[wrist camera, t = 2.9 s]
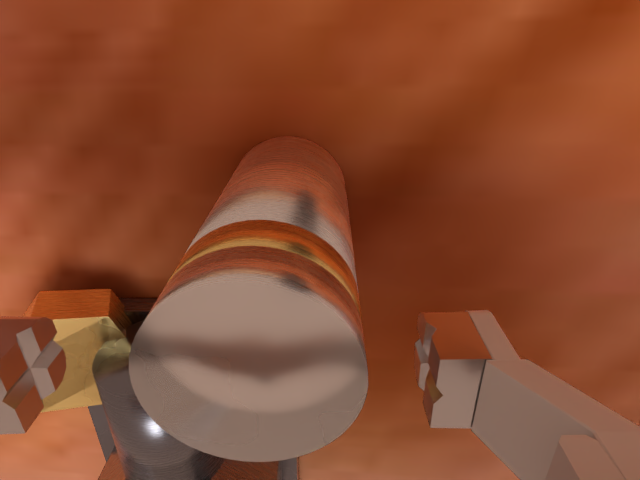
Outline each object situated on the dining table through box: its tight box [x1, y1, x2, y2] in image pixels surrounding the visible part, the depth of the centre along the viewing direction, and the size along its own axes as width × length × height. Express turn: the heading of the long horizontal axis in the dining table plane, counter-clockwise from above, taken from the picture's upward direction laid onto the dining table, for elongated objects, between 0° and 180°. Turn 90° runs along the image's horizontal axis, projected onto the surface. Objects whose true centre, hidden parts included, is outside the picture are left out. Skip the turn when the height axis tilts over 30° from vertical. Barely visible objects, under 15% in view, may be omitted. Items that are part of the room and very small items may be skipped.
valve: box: [129, 136, 368, 462], centre depth 12 cm, size 4×4×10 cm
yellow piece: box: [22, 289, 133, 412], centre depth 18 cm, size 4×5×2 cm
